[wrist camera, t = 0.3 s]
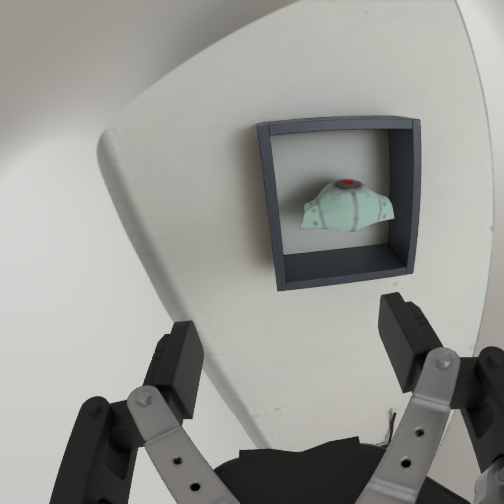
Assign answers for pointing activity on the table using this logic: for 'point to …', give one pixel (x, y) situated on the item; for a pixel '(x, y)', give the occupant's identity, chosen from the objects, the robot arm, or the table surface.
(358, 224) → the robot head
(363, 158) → the table surface
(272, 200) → the bin
